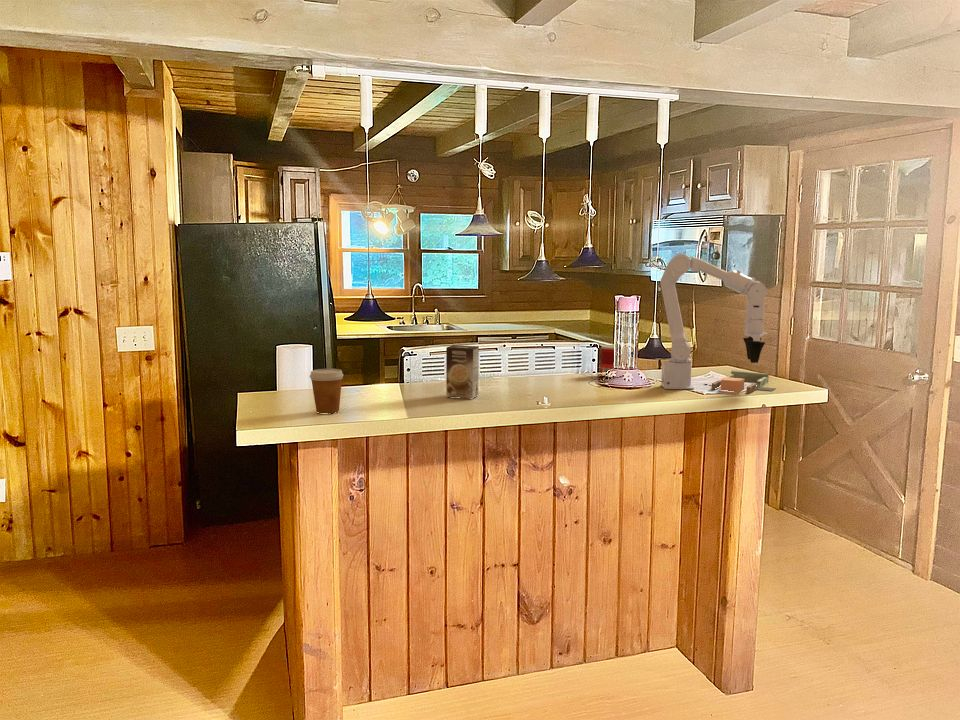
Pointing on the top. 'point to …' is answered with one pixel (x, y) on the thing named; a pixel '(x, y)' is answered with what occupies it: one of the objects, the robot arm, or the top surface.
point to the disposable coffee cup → (327, 389)
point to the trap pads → (765, 389)
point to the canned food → (607, 357)
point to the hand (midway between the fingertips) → (752, 360)
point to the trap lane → (747, 379)
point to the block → (732, 384)
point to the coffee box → (462, 371)
